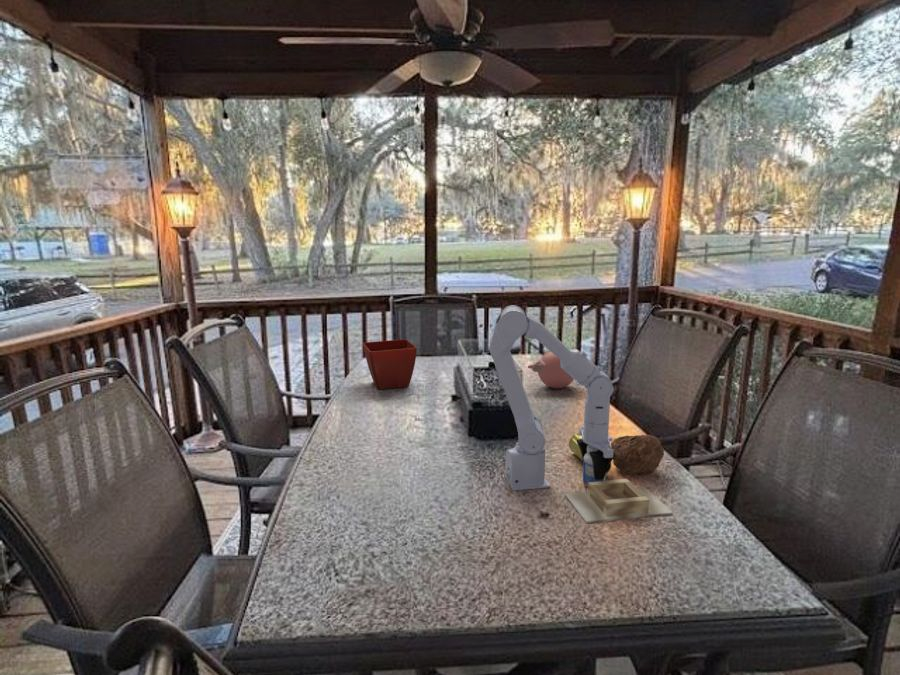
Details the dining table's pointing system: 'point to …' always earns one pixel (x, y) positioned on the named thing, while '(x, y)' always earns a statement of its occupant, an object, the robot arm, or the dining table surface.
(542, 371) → the balloon
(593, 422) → the robot arm
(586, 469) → the pill bottle
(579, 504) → the socket block
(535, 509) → the dining table surface
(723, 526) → the dining table surface
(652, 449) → the decorative rock
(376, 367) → the plant pot
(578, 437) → the vase
